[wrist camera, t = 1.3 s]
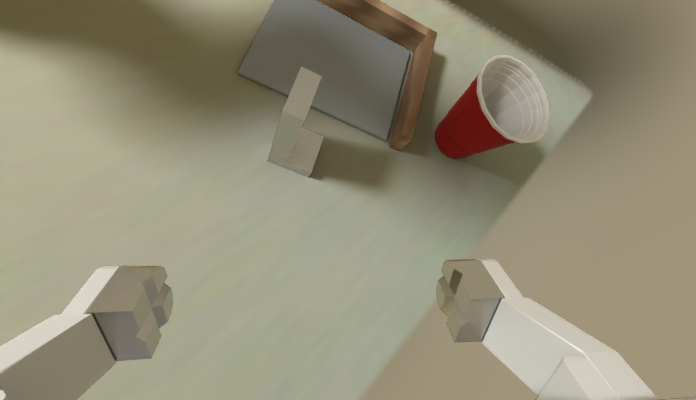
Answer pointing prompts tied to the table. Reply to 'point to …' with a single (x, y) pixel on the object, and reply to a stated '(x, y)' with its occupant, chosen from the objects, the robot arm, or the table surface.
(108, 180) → the table surface
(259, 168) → the table surface
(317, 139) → the steel bookend
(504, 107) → the plastic cup
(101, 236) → the table surface
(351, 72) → the felt mat
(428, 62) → the corner walls
